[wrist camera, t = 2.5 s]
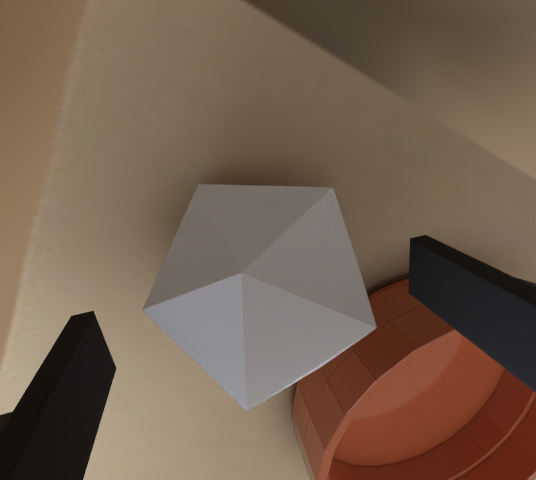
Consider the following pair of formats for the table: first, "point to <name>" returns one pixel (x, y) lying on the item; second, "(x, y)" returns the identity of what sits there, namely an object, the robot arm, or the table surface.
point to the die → (261, 286)
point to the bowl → (414, 405)
